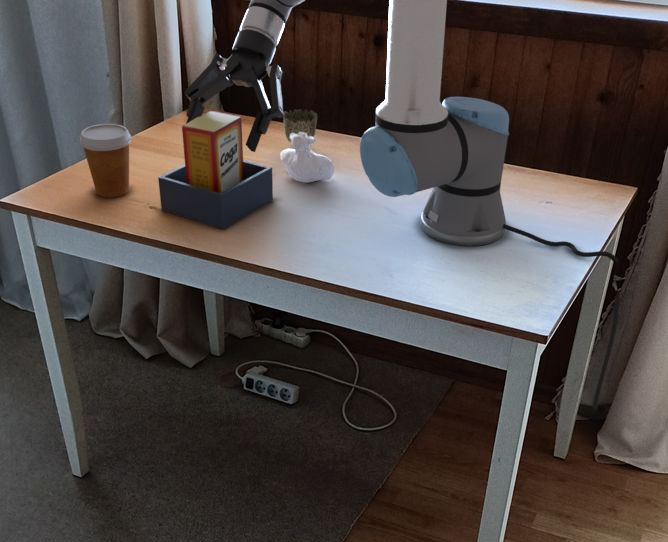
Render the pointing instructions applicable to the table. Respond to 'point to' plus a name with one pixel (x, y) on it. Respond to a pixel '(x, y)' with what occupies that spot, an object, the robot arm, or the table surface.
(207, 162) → the baking soda box
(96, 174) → the disposable coffee cup
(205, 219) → the bin
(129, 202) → the table surface
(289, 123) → the cup
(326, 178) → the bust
